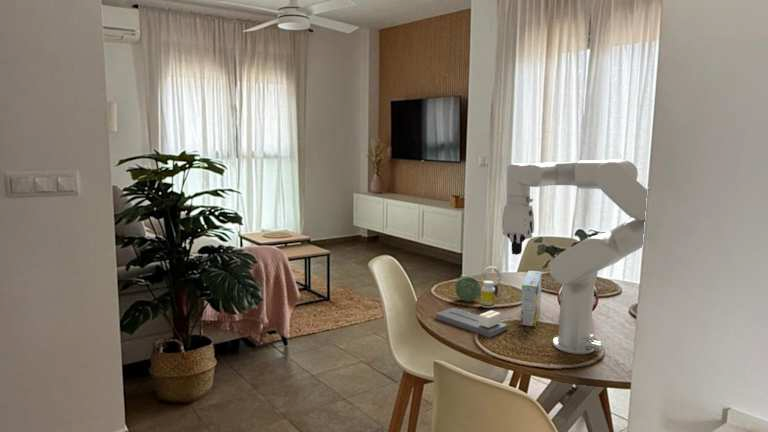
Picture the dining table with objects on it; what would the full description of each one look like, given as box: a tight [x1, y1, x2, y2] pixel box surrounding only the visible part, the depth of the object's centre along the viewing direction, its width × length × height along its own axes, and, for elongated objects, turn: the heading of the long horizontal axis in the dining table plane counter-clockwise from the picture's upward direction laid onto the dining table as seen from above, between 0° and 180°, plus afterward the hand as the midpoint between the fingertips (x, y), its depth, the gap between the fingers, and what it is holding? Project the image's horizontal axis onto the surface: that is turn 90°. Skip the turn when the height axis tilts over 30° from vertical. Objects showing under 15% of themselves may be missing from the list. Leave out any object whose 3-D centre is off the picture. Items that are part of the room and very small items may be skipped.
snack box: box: [520, 270, 543, 328], centre depth 191 cm, size 21×6×15 cm, turn 159°
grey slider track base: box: [435, 307, 509, 338], centre depth 184 cm, size 24×10×2 cm, turn 43°
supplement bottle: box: [479, 280, 496, 309], centre depth 203 cm, size 5×5×10 cm
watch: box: [482, 265, 503, 294], centre depth 222 cm, size 6×8×11 cm
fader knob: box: [478, 310, 502, 328], centre depth 178 cm, size 4×7×4 cm, turn 133°
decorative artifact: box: [454, 275, 482, 302], centre depth 208 cm, size 10×7×10 cm
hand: (516, 253), depth 177 cm, fingers closed
